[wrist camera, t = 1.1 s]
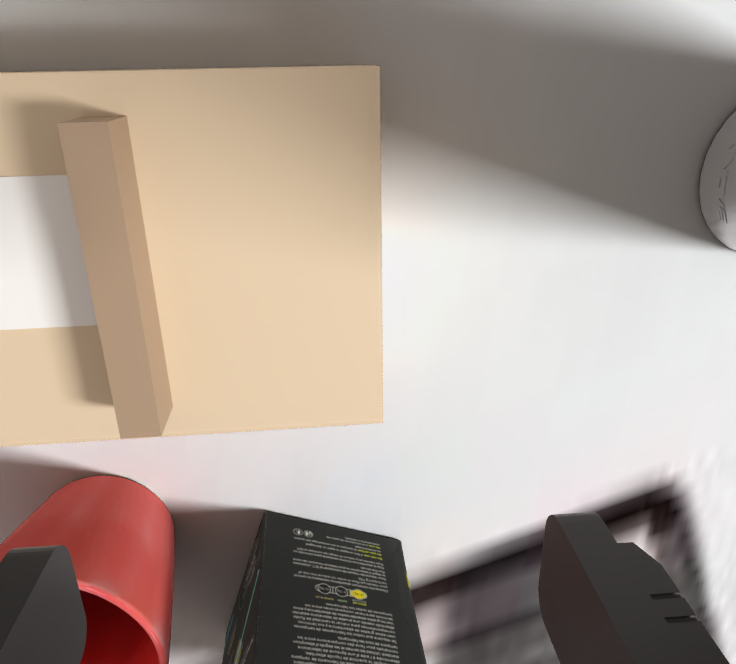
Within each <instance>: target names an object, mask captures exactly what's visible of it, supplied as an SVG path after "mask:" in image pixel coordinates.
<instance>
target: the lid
mask: <svg viewBox="0 0 736 664" xmlns="http://www.w3.org/2000/svg"><path fill="white" fill-rule="evenodd" d="M372 423H383V344H382V234H381V123H380V66H342V67H291V68H240V69H188V70H137V71H86V72H34V73H0V447H6V446H22V445H38V444H54V443H70V442H86V441H102V440H118V439H134V438H149V437H165V436H181V435H197V434H213V433H229V432H245V431H261V430H277V429H293V428H309V427H324V426H340V425H356V424H372Z"/></svg>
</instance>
